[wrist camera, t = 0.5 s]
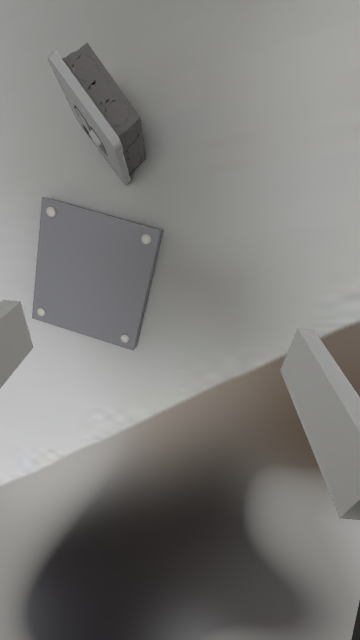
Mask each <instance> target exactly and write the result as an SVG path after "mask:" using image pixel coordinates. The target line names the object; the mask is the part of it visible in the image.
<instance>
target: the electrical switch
mask: <svg viewBox="0 0 360 640" xmlns="http://www.w3.org/2000/svg"><path fill="white" fill-rule="evenodd" d="M91 57H92V58H91ZM48 60H49V62H50V64H51V66H52V69H53V71H54V73H55V75H56V77H57V79H58V81H59V83H60V86H61V88H62V90H63V92H64V94H65V96H66V98H67V100H68V102H69V104H70V106H71V108H72V110H73V112H74V114H75V116H76V118H77V120H78V121H79V123H80V125H81V126H82V127H83V129H84V130H85V131H86V133H87V134H88V135H89V137H90V138H91V139H92V141H93V142H94V144H95V145H96V146H97V148H98V149H99V150H100V152H101V153H102V154H103V156H104V157H105V158H106V160H107V161H108V162H109V164H110V165H111V166H112V168H113V169H114V170H115V172H116V173H117V174H118V176H119V177H120V178H121V180H122V181H123V182H124V183H125V184H128V183H129V182H130V181H131V177H130V176H129V173H130V172H132V171H133V170H134V169H135V168H136V167H137V166H138V165H139V164H140V163H142V162H143V161H144V160H145V152H144V144H143V136H142V127H141V119H140V117H139V116H138V114H137V113H136V111H135V110H134V108H133V107H132V106H131V104H130V103H129V101H128V100H127V99H126V97H125V96H124V94H123V93H122V91H121V90H120V89H119V87H118V86H117V84H116V83H115V82H114V80H113V79H112V77H111V76H110V74H109V73H108V72H107V70H106V69H105V67H104V66H103V64H102V63H101V62H100V60H99V59H98V57H97V56H96V55H95V53H94V52H93V50H92V49H91V47H90V46H89V45H88V43H86V44H85V45H84V46H83V47H81V48H80V49H79V50H78V51H76V52H74V53H71V54H70V55H68V56H67V57H66V58H64V59H62V58H61V57H60V55H59V54H58V53H57V51H56V50H55V51H53V52H52V53H51V55H50V56H49V57H48ZM97 70H98V72H97ZM113 101H114V102H113ZM126 105H127V107H126ZM139 119H140V120H139ZM138 120H139V121H138ZM135 122H136V123H135ZM134 123H135V124H134Z"/></svg>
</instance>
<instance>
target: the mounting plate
mask: <svg viewBox="0 0 360 640" xmlns="http://www.w3.org/2000/svg"><path fill="white" fill-rule="evenodd" d="M162 234H163V231H162V230H159V229H155V228H151V227H148V226H144V225H141V224H137V223H134V222H130V221H127V220H123V219H120V218H116V217H112V216H109V215H105V214H102V213H98V212H95V211H91V210H88V209H84V208H81V207H77V206H74V205H70V204H66V203H63V202H59V201H56V200H52V199H49V198H45V197H42V208H41V220H40V231H39V243H38V255H37V266H36V278H35V290H34V301H33V313H32V318H33V319H36V320H39V321H43V322H46V323H49V324H52V325H55V326H58V327H61V328H65V329H68V330H71V331H74V332H77V333H80V334H84V335H87V336H90V337H93V338H96V339H99V340H102V341H106V342H109V343H112V344H115V345H118V346H121V347H124V348H128V349H131V350H134V349H135V347H136V346H137V342H138V337H139V333H140V329H141V324H142V320H143V316H144V311H145V307H146V303H147V299H148V294H149V290H150V286H151V281H152V277H153V273H154V268H155V264H156V260H157V255H158V251H159V247H160V242H161V238H162Z"/></svg>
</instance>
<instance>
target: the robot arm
mask: <svg viewBox="0 0 360 640" xmlns="http://www.w3.org/2000/svg"><path fill="white" fill-rule="evenodd" d="M32 348H33V344H32V341H31V337H30V334H29V330H28V327H27V323H26V320H25V316H24V313H23V309H22V306H21V302H20V301H9V300H3V301H2V302H1V303H0V388H1V387H2V386H3V384H4V383H5V382H6V381H7V379H8V378H9V377H10V376H11V374H12V373H13V372H14V371H15V369H16V368H17V367H18V366H19V364H20V363H21V362H22V361H23V360H24V358H25V357H26V356H27V355H28V353H29V352H30V351H31V350H32ZM280 371H281V373H282V376H283V378H284V381H285V383H286V386H287V388H288V391H289V393H290V396H291V398H292V400H293V403H294V405H295V408H296V411H297V413H298V415H299V418H300V421H301V423H302V426H303V428H304V430H305V433H306V435H307V437H308V440H309V443H310V445H311V448H312V450H313V453H314V455H315V457H316V460H317V463H318V465H319V468H320V470H321V473H322V475H323V477H324V480H325V482H326V485H327V488H328V490H329V492H330V495H331V497H332V500H333V502H334V505H335V507H336V510H337V512H338V515H339V517H340V518H345V519H356V520H360V397H359V396H358V394H357V393H356V391H355V390H354V388H353V387H352V385H351V384H350V383H349V381H348V380H347V378H346V377H345V375H344V374H343V372H342V371H341V369H340V368H339V366H338V365H337V363H336V362H335V361H334V359H333V358H332V356H331V355H330V353H329V352H328V350H327V349H326V347H325V346H324V344H323V343H322V341H321V340H320V338H319V337H318V335H317V334H316V333H315V331H314V330H308V329H297V332H296V334H295V337H294V339H293V341H292V344H291V346H290V348H289V351H288V353H287V356H286V358H285V360H284V363H283V365H282V367H281V370H280ZM352 640H360V602H359V607H358V611H357V616H356V621H355V626H354V631H353V636H352Z"/></svg>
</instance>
